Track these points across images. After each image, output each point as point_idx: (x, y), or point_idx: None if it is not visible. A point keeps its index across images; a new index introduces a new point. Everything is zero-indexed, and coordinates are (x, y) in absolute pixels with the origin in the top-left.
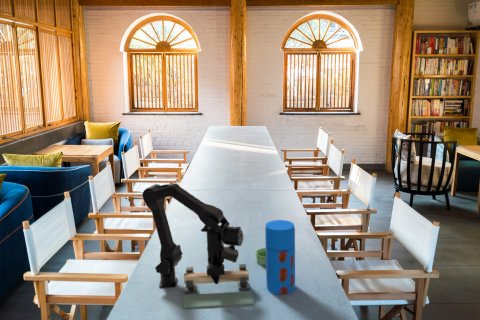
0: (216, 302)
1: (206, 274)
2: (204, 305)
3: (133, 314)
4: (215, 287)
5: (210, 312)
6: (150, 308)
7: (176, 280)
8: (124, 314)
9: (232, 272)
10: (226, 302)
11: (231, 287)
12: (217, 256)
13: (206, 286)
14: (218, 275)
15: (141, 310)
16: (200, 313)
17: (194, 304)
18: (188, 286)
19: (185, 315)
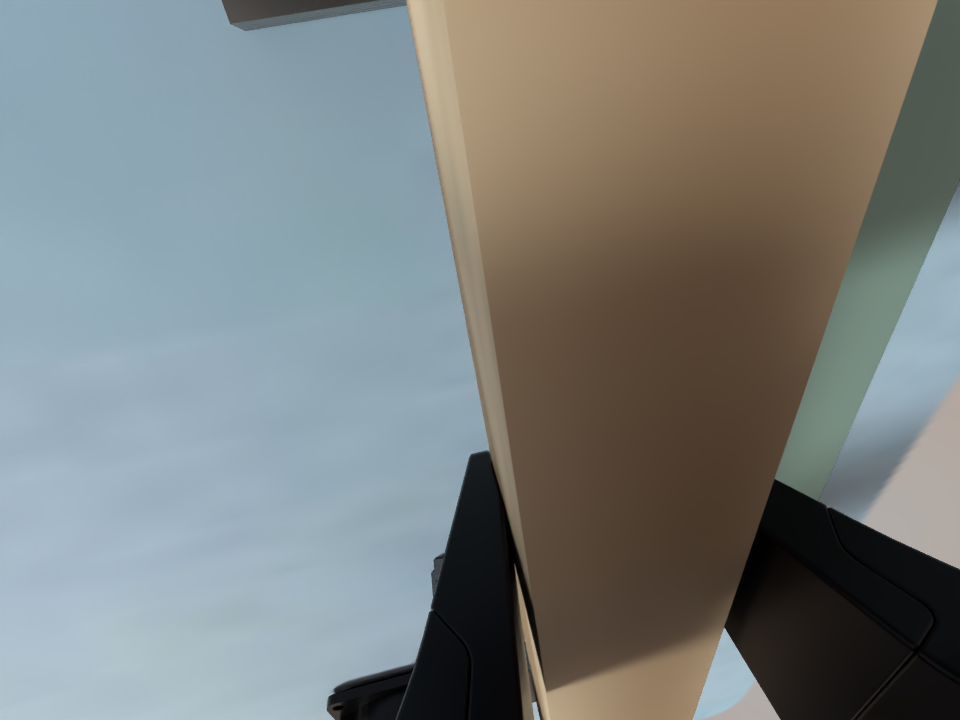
0: (852, 305)
1: (659, 703)
2: (853, 405)
3: None
4: (439, 396)
5: (954, 321)
6: (720, 648)
7: (377, 694)
8: (740, 692)
9: (710, 155)
10: (913, 171)
11: (413, 163)
12: None
13: (425, 486)
14: (894, 567)
15: (727, 665)
16: (920, 398)
17: (797, 482)
18: None
19: (887, 483)
